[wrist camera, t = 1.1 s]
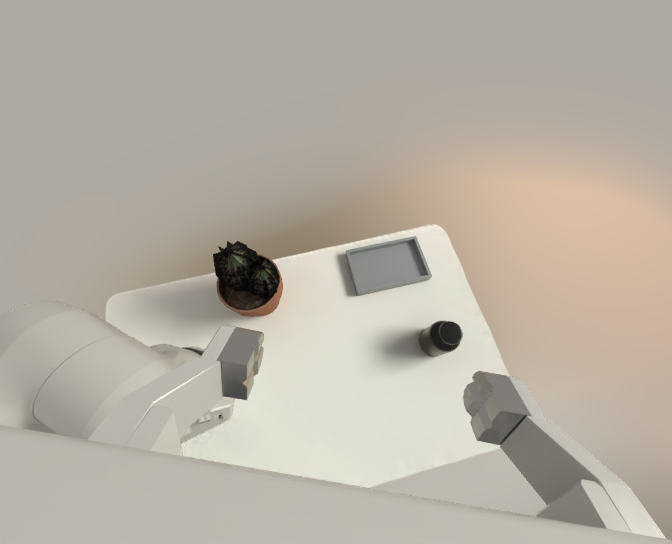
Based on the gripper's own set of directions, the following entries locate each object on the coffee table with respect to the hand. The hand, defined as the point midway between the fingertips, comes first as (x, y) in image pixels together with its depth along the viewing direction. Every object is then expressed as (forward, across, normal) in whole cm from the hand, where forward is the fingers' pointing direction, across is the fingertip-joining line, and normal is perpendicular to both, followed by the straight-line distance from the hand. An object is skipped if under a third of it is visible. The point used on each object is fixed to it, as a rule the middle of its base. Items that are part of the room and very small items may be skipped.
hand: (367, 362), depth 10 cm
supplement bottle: (+44, +26, -37) cm, 63 cm away
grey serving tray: (+59, +13, -27) cm, 66 cm away
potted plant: (+49, -18, -38) cm, 64 cm away
